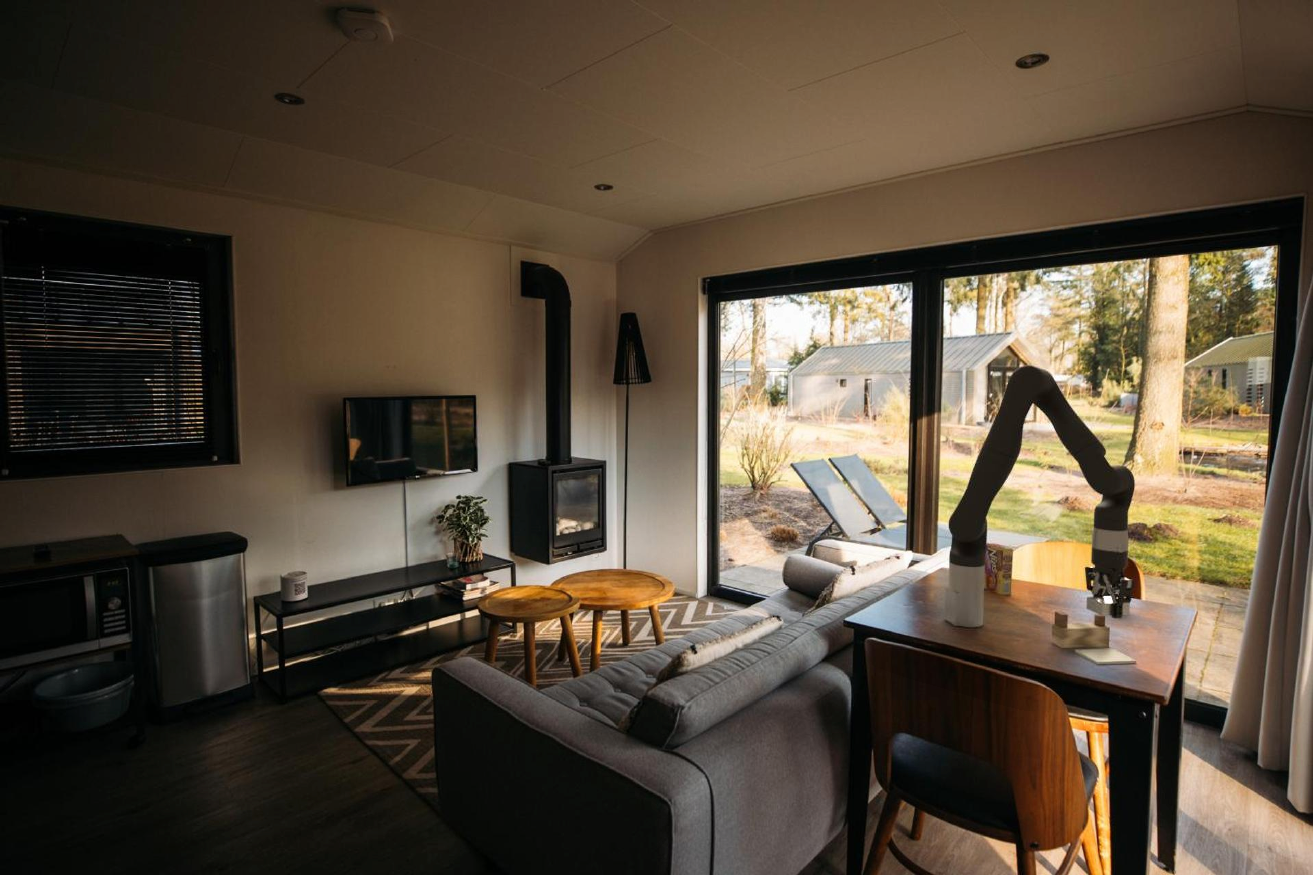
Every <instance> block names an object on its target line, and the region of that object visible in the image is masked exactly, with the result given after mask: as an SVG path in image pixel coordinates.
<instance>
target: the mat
mask: <svg viewBox="0 0 1313 875" xmlns="http://www.w3.org/2000/svg"><path fill="white" fill-rule="evenodd" d="M1074 653H1075V654H1078V655H1080V656H1081V657H1083V658H1085V659H1087V660H1089V661H1091V662H1092V663H1094V664H1096V665H1117V664H1118V665H1119V664H1121V665H1124V664H1137V659H1134V658H1132V657H1130V656H1128V655H1126V654H1123V653H1122V652H1120V651H1118V650H1116V649H1114V648H1090V649H1074Z"/></svg>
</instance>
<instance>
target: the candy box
mask: <svg viewBox="0 0 1313 875" xmlns="http://www.w3.org/2000/svg"><path fill="white" fill-rule="evenodd" d="M1013 559H1014V548H1012V547H1009V546H1005V545H1001V544H998V543H995V542H989V543H988V542H987V544H986V555H985V567H984V590H988V591H990V592H993V593H996V594H997V595H1001V596H1004V595H1005V596H1006V595H1007V596H1008V595H1012V582H1013V581H1012V580H1013V562H1014V560H1013Z"/></svg>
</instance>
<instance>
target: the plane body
mask: <svg viewBox="0 0 1313 875" xmlns="http://www.w3.org/2000/svg"><path fill="white" fill-rule="evenodd" d="M1093 618H1094V619H1093V622H1070V623H1069V622H1068V620H1069V614H1067V613H1065V612H1063V611H1062V610H1059V611H1058V610H1057V611H1054V623H1052V624H1051V643H1052V644H1054V645H1055V646H1057V647H1059V648H1061V649H1067V648H1068V649H1071V648H1072V649H1073V648H1074V649H1075V648H1094V647H1095V648H1096V647H1097V648H1098V647H1099V648H1100V647H1102V648H1103V647H1110V632H1111V631H1110V630H1111V628H1110V626H1108V625H1106V616H1102V615H1100V614H1098V613H1094V617H1093Z"/></svg>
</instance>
